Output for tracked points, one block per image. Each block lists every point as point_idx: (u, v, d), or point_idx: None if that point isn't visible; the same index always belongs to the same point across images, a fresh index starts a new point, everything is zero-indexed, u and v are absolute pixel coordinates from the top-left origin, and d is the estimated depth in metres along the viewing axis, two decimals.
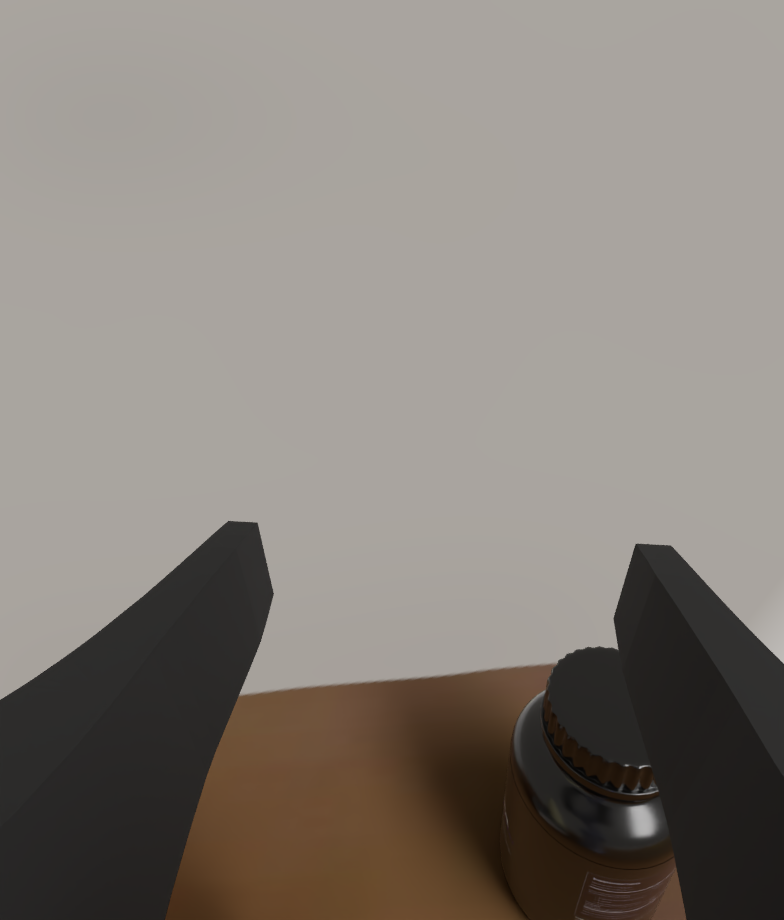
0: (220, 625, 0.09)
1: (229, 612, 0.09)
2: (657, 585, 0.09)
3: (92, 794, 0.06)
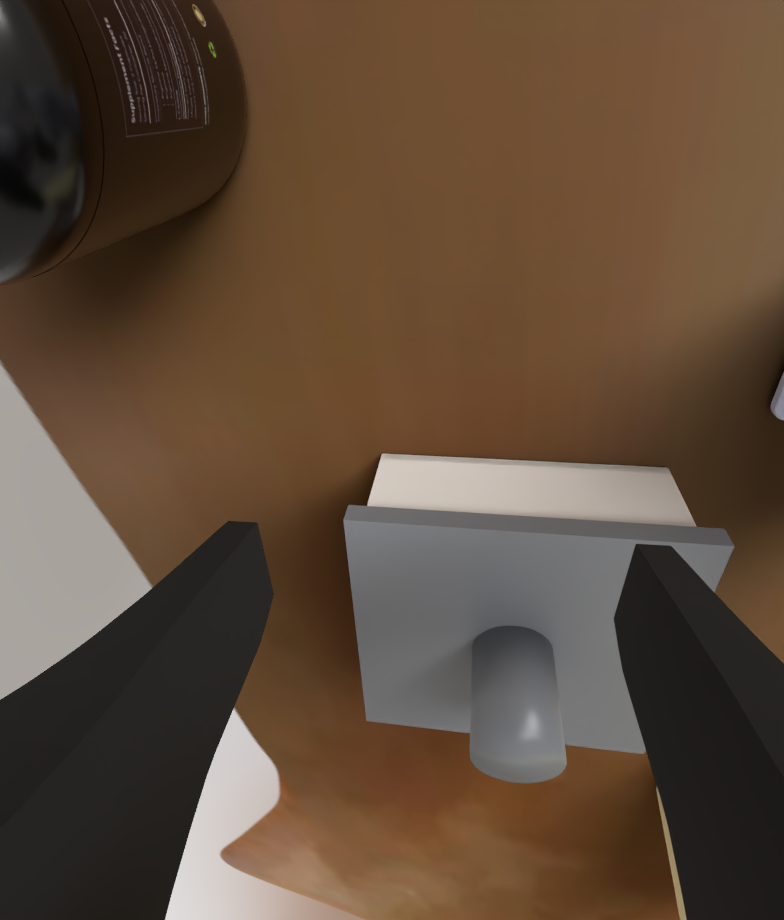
0: (220, 625, 0.09)
1: (229, 612, 0.09)
2: (657, 585, 0.09)
3: (91, 793, 0.06)
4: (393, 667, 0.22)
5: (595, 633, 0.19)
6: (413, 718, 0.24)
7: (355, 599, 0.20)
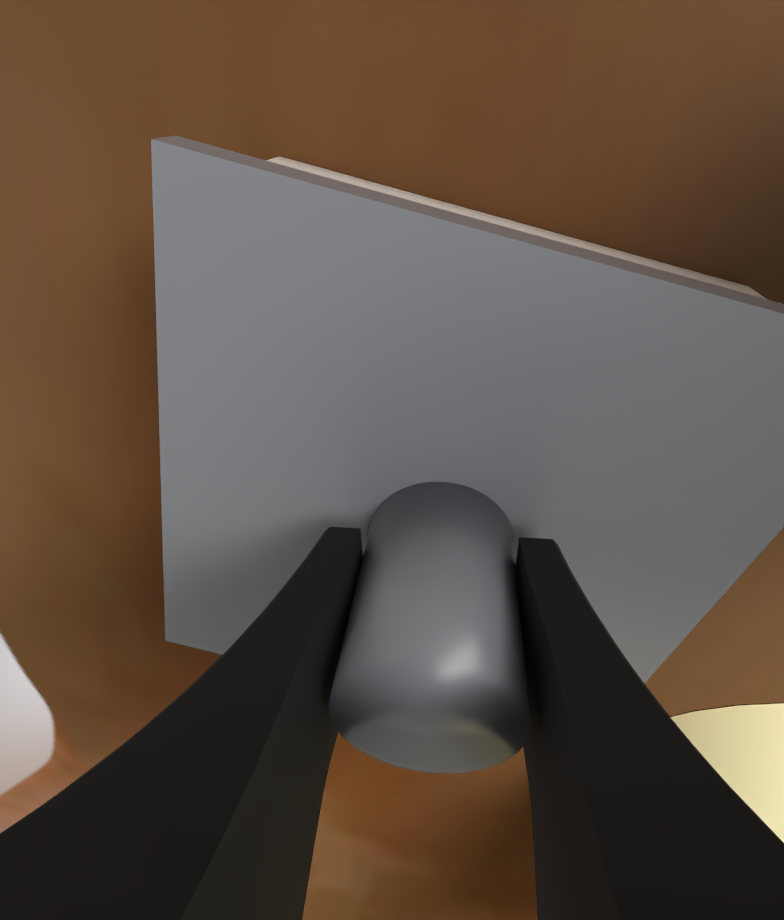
0: (337, 634, 0.09)
1: (343, 621, 0.09)
2: (526, 577, 0.09)
3: (262, 814, 0.06)
4: (223, 543, 0.12)
5: (596, 521, 0.11)
6: None
7: (164, 377, 0.10)
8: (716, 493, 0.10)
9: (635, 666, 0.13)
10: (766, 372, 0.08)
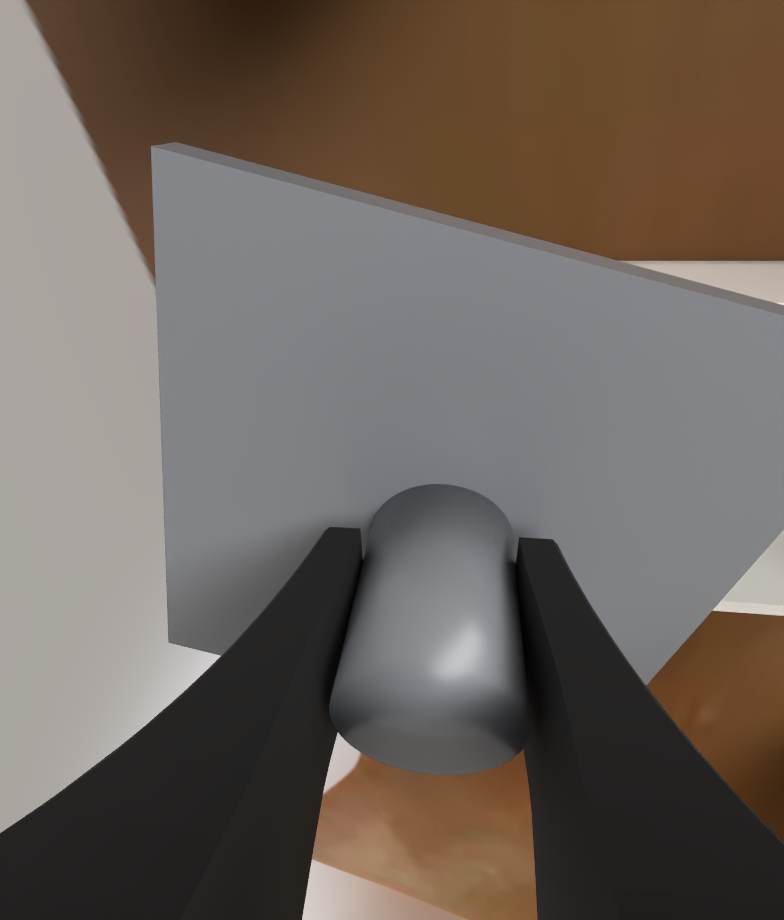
0: (337, 634, 0.09)
1: (342, 621, 0.09)
2: (526, 577, 0.09)
3: (262, 814, 0.06)
4: (225, 545, 0.12)
5: (597, 522, 0.11)
6: None
7: (165, 381, 0.10)
8: (717, 494, 0.10)
9: (637, 667, 0.13)
10: (765, 373, 0.08)
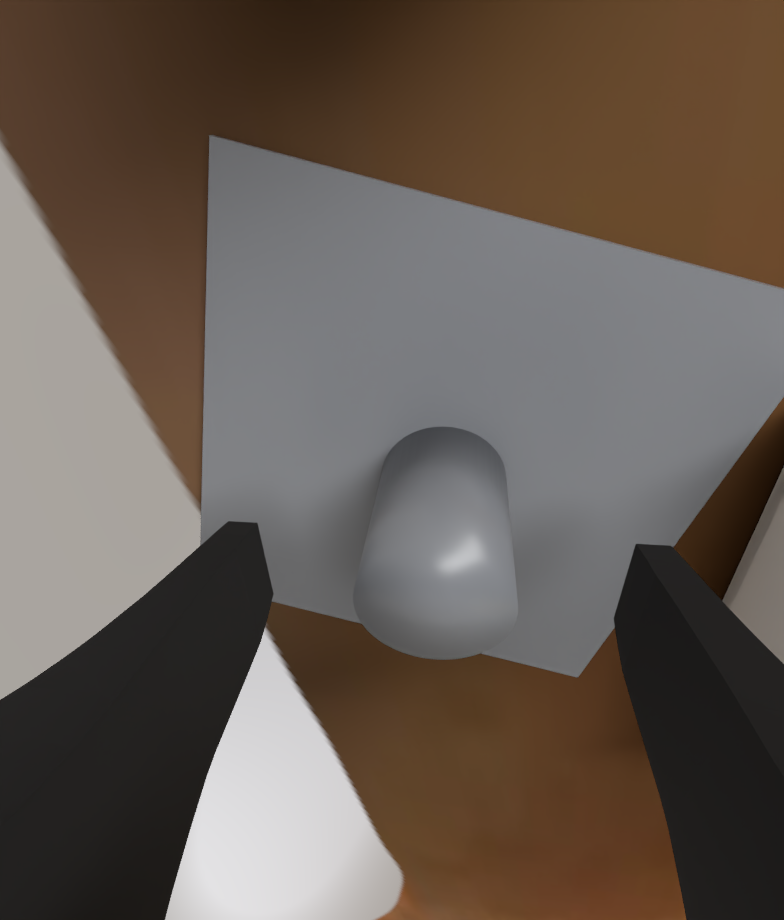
0: (221, 625, 0.09)
1: (229, 612, 0.09)
2: (657, 585, 0.09)
3: (91, 792, 0.06)
4: (255, 488, 0.14)
5: (577, 459, 0.12)
6: None
7: (210, 337, 0.12)
8: (677, 432, 0.12)
9: (616, 597, 0.15)
10: (712, 323, 0.10)
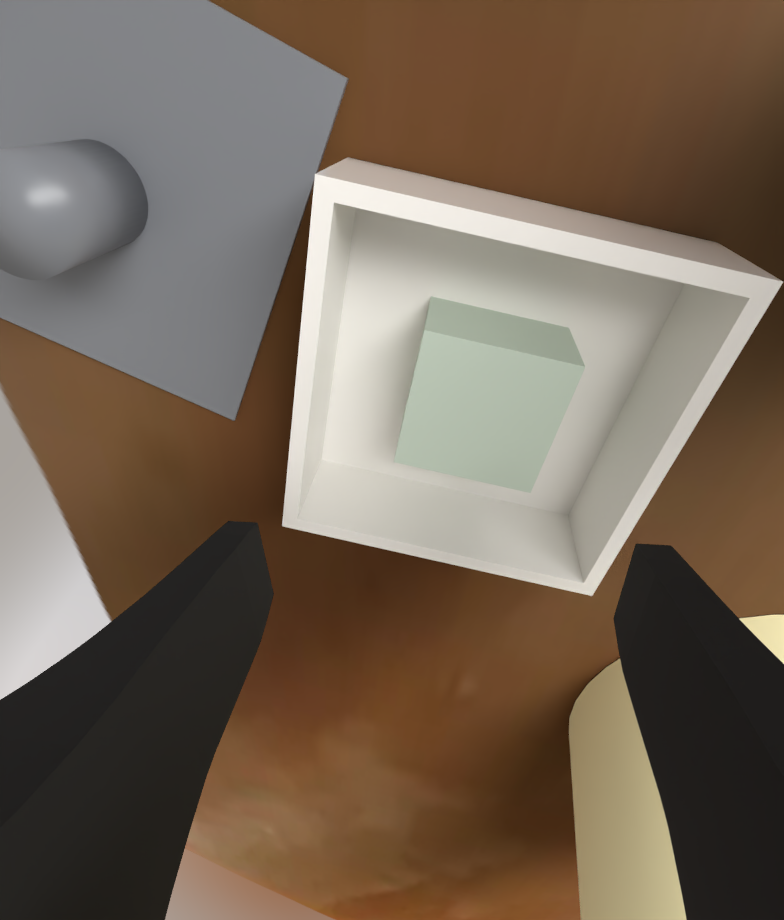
0: (221, 625, 0.09)
1: (229, 612, 0.09)
2: (657, 585, 0.09)
3: (91, 794, 0.06)
4: None
5: (195, 190, 0.16)
6: None
7: None
8: (259, 174, 0.16)
9: (247, 336, 0.19)
10: (264, 75, 0.14)
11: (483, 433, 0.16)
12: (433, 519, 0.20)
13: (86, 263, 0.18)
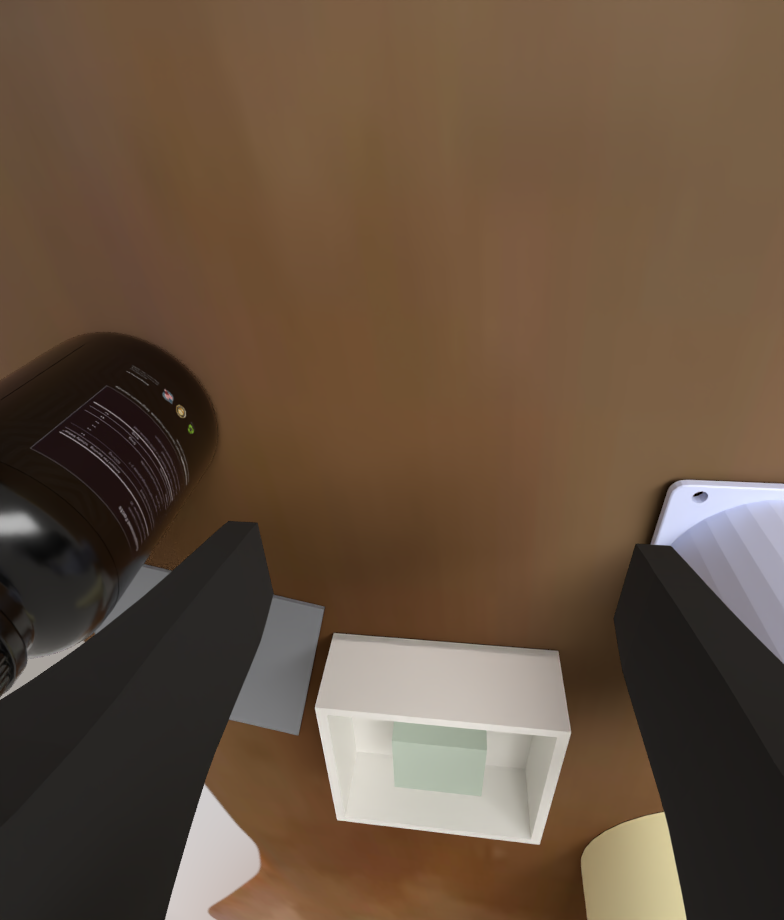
0: (220, 624, 0.09)
1: (229, 612, 0.09)
2: (657, 585, 0.09)
3: (91, 793, 0.06)
4: None
5: None
6: None
7: None
8: (286, 642, 0.28)
9: (296, 701, 0.31)
10: (279, 611, 0.26)
11: (442, 775, 0.27)
12: (431, 796, 0.30)
13: None
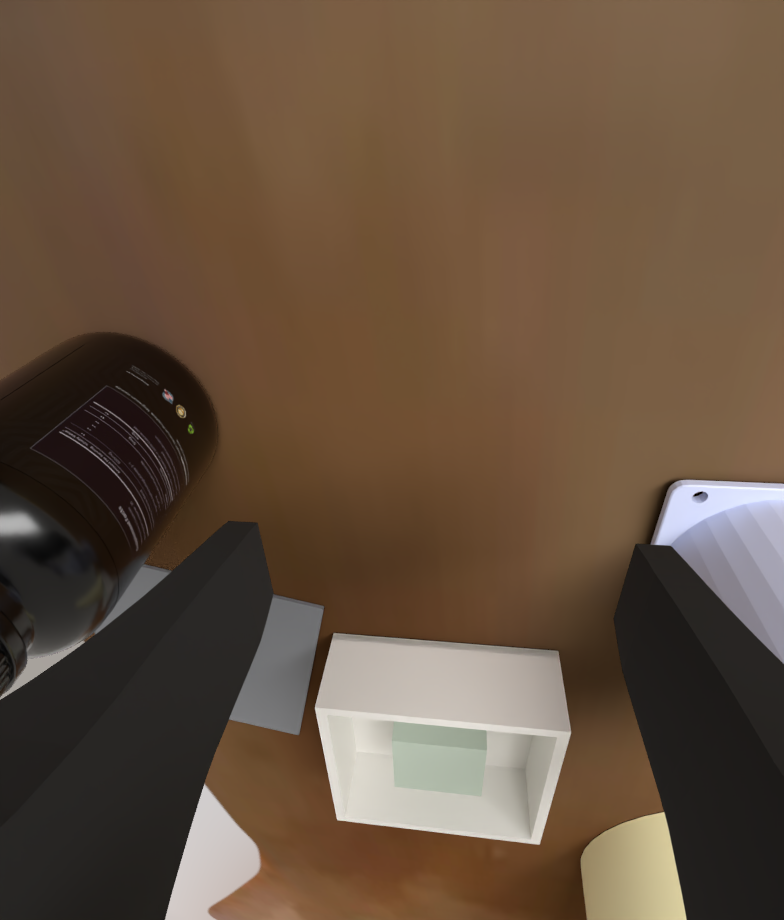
0: (220, 624, 0.09)
1: (229, 612, 0.09)
2: (657, 585, 0.09)
3: (91, 793, 0.06)
4: None
5: None
6: None
7: None
8: (286, 642, 0.28)
9: (297, 701, 0.31)
10: (279, 610, 0.26)
11: (442, 775, 0.27)
12: (431, 796, 0.30)
13: None
